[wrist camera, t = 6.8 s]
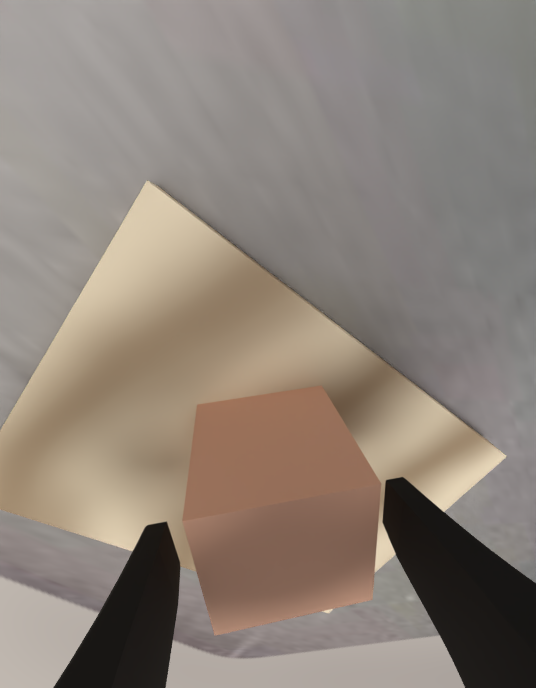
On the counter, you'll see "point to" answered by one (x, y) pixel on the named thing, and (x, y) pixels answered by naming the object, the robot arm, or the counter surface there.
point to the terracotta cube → (279, 509)
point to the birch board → (200, 386)
